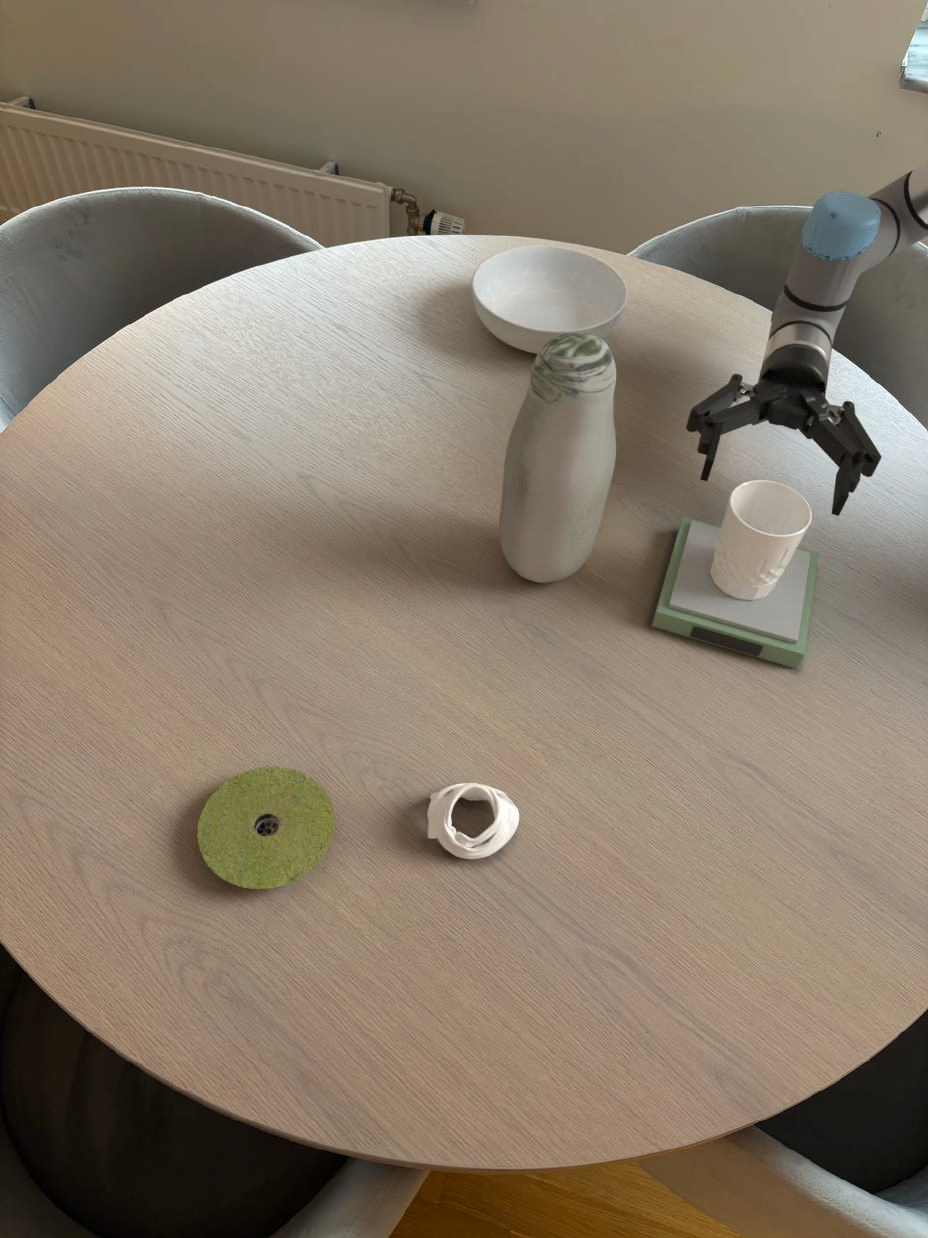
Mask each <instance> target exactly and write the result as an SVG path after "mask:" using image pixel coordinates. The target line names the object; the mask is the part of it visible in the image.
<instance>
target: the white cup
mask: <svg viewBox="0 0 928 1238" xmlns="http://www.w3.org/2000/svg"><path fill="white" fill-rule="evenodd" d="M812 513H813V512H812V508H811V506H810V504H809V503H808V501H807V499H806V498H805V497H804V496H803V495H802V494H800V492H798V491H796V490H795V489H794V488H792V487H790V486H788V485H786V484H783V483H780V482H778V481H773V480H766V479H753V480H748V481H745V482H742V483H740V484H738V485H737V486H736V487H735V488H734V489H733V490H732V491H731V493H730V495H729V499H728V502H727V506H726V509H725V512H724V516H723V519H722V522H721V525H720V526H721V528H720V532H719V535H718V539H717V543H716V546H715V554H714V557H713V560H712V564H711V569H710V575H711V577H712V579H713V582H714V584H715V585H716V586H717V587H718V588H720V589H721V590H722V591H723V592H724V593H726V594H728V595H730V596H732V597H735V598H737V599H743V600H756V599H759V598H763V597H766V596H767V595H768V594H769V593H770V592H771V591H772V590H773V589H774V587H775V585H776V583H777V581H778V579H779V577H780V576H781V575H782V573H783V572H784V570H785V568H786V566H787V564H788V563H789V561H790V560H791V558H792V556H793V554H794V553H795V551H796V549H797V547H799V545H800V543H801V541H802V540H803V537H804V536H805V534H806V532H807V530H808V529H809V526H810V525H811V523H812V519H813V514H812Z"/></svg>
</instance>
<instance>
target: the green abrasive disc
mask: <svg viewBox="0 0 928 1238" xmlns="http://www.w3.org/2000/svg"><path fill="white" fill-rule="evenodd" d="M334 831H335V813H334V809H333V805H332V802H331V800H330V797H329V796H328V794H327V792H326V791H325V790H324V788H323V787H322V786H321V785H320V784H319V783H318V782H317V781H316V780H315V779H314V778H312V777H310V776H309V775H307V774H306V773H303V772H301V771H298V770H297V769H292V768H288V767H285V766H274V765H273V766H262V767H255V768H251V769H250V770H246V771H244V772H241V773H239V774H237V775H235V776H233V777H231V778H229V779H228V780H226V781H225V782H224V783H223V784H222V785H220V786H219V787H218V788H217V789H215V791H214V792H213V793H212V794H211V796H210V797H209V798H208V799H207V801H206V803H205V805H204V807H203V809H202V811H201V813H200V817H199V819H198V823H197V834H196V835H197V836H196V837H197V843H198V849H199V851H200V854H201V856H202V859H203V861H204V862H205V864H206V865H207V867H208V868H210V870H211V872H213V873H214V874H215V875H216V876H218V877H219V878H220V879H222V880H224V881H226V882H228V883H229V884H231V885H233V886H238V887H240V888H242V889H252V890H262V889H263V890H266V889H274V888H279V887H282V886H285V885H288V884H291V883H293V882H295V881H298V879H300V878H302V877H304V876H305V875H306V874H307V873H309V872H310V871H311V870H312V869H313V868H315V866H316V865H317V864H318V863H319V862H320V860H321V859H322V858H323V857H324V855H325V854H326V852H327V851H328V848H329V846H330V845H331V842H332V839H333V836H334Z"/></svg>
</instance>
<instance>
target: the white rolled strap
mask: <svg viewBox="0 0 928 1238" xmlns="http://www.w3.org/2000/svg"><path fill="white" fill-rule="evenodd" d="M459 798H463V799H464V800H467V801H472V802H473V801H476V802H477V801H487V802H489V804H490V805H491V806H490V807H491V808H492V811H493V812H492V813H493V817H494V821H493V822H492V824H491V825H489V826H488V827H487V828H486V829H485V830H484V831H483V832H482V833H480V834H479V835H478V836H476V837H474V838H473V837H469V836H467V835H466V834H464V833H463V832H461V831H457V830H456V828H455V827H454V826H452V824H453V822H452V812H453V809H454V806H455V805H456V803H457V802H458V800H459ZM429 799H430V802H429V804H428V809H427V812H426V817H427V822H428V823H427V838H428V839H433V840H434V839H437V841H438V842H439V844H440V845H441V846H442V847H443V848H444V849H445V850H446V851H448V852H449V853H450V854H452V855H453V856H454V857H457V858H460V859H467V860H478V859H484V858H487V857H489V856H491V855H493V854H496V853H497V852H498V851H499V850H500V849H502V848H503V847H504V846H505V845H506V844H507V843H508V842H509V841H510V840H511V839H512V837H513V836H514V834H515V832H516V830H517V828H518V825H519V822H520V812H519V809H518V807H517V806H516V805H515V803H514V802H513V800H511V798H509V797H508V795H507V794H506V793H505V792H504V791H502V790H500V789H498V788H495V787H491V786H489V785H487V784H484V783H476V782H468V783H464V782H463V783H456V784H452V785H449V786H446V787H443V788H442V789H440V790H439V791H436V792H433V793H431V794H430V796H429Z"/></svg>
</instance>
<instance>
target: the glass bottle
mask: <svg viewBox="0 0 928 1238" xmlns="http://www.w3.org/2000/svg"><path fill="white" fill-rule="evenodd" d="M530 369H531V370H530V374H529V381H528V385H527V389H526V393H525V396H524V399H523V402H522V404H521V406H520V408H519V411H518V413H517V416H516V418H515V421H514V424H513V426H512V429H511V432H510V434H509V438H508V441H507V444H506V445H507V446H506V450H505V456H504V463H503V464H504V467H503V475H502V477H503V478H502V491H501V503H500V511H499V519H498V522H499V523H498V537H499V542H500V546H501V550H502V553H503V556H504V558H505V560H506V562H507V564H508V566H509V567H510V568H511V569H512V570H513V571H515V573H517V575H518V576H520V577H521V578H523V579H526V580H528V581H531V582H534V583H541V584H546V583H553V582H558V581H560V580H564V579H567V578H568V577H570V576H572V575H574V574H575V573H576V572H577V571H578V570H579V569H580V568H581V567H582V566H583V565H585V563H586V561H587V560H588V559H589V557H590V555H591V553H592V551H593V550H594V547H595V544H596V541H597V538H598V535H599V530H600V527H601V522H602V518H603V514H604V511H605V506H606V502H607V498H608V496H609V492H610V487H611V484H612V480H613V474H614V471H615V466H616V458H617V457H616V456H617V439H616V438H617V437H616V429H615V423H614V394H615V388H616V383H617V366H616V361H615V359H614V356H613V353H612V349H611V348H610V346H609V345H608V344H607V342H606V341H605V340H604V339H603V340H602V338H600V337H597V336H595V335H592V334H590V333H583V332H574V333H567V334H564V335H560V336H558V337H555V338H554V339H552V340H550V341H549V342H547V343H546V344H545V345H544V346H543V347H542V349H541V350H540V351H539V353H538V354H537V355H535V358H534V360H533V363H532V366H531V368H530Z"/></svg>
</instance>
